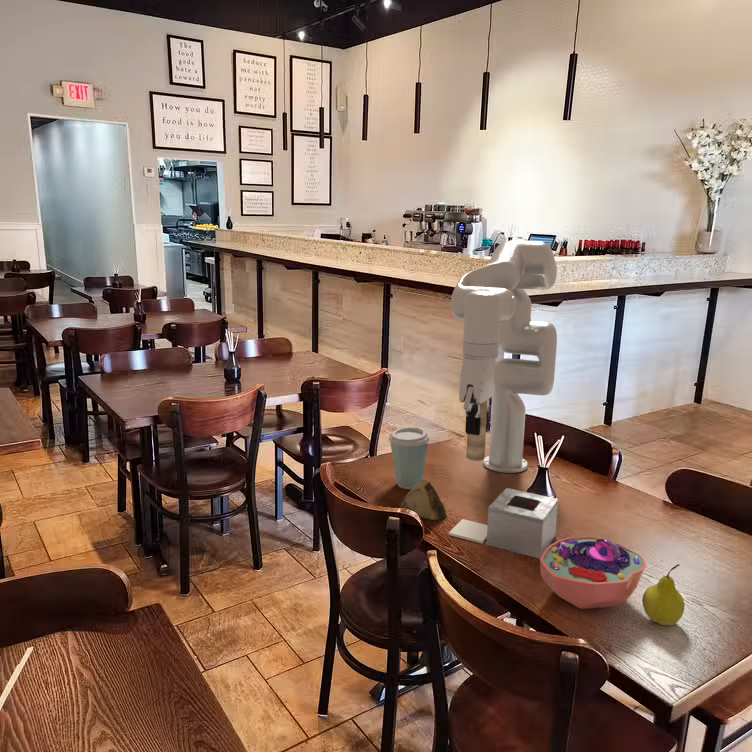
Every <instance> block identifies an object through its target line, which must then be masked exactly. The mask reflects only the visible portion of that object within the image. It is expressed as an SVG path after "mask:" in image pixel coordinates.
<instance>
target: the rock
mask: <svg viewBox="0 0 752 752" xmlns="http://www.w3.org/2000/svg"><path fill="white" fill-rule="evenodd" d="M401 508H406V509H409V510H412V511H414V512H416V513H417V514H419V516H418V517H421V518H424V519H428V520H431V521H437V520H442V519H446V518H448V514H447V511H446V509H445V506H444V503H443V502H442V501H441V499H440V496H439V495H438V493H437V491H436V489H435V488H434V486H433V485H432V484H431V482H430V481H428V480H426V479H422V480H421V481H418V482H417V484H416V485H415V486H414V487H413V488H412V489H410V490H409V491H408V492H407V494H406V495H405V496H404V497H403V501H402V502H401V504H400V509H401Z"/></svg>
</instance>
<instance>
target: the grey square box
mask: <svg viewBox="0 0 752 752" xmlns="http://www.w3.org/2000/svg"><path fill="white" fill-rule="evenodd" d="M558 504H559V499H558V498H556V497H550V496H546V495H541V494H536V493H532V492H527V491H522V490H517V489H513V488H509V487H506V488H505V489H504V490H503V491H502V492H501V493H500V494H499V495H498V496H497V498H496V499H494V500H493V502H492V503H491V504H490V505H489V506H488V509H487V510H488V511H487V512H488V513H487V525H488V527H487V539H486V546H489V547H494V548H497V549H501V550H505V551H509V552H513V553H516V554H520V555H524V556H528V557H532V558H534V559H535V558H536V559H539V560H540V558H541V556H542V555H543V553H544V551H545V550H546V548H547V547H548V546H550V545H551V544H552V541H554V540H553V539H555V536H556V531H557V521H558V520H557V519H558V518H557V517H558V509H559V508H558V506H559V505H558Z"/></svg>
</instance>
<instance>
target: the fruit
mask: <svg viewBox="0 0 752 752" xmlns="http://www.w3.org/2000/svg"><path fill="white" fill-rule="evenodd" d="M678 567H680V564H679V563H678V564H676V565H674V566H673V567H671V568H670V570H669V571H668V573H667V575H663V576H661V577H660V578H659V580H658V582H657V583H656V584H653V585H650V586H648V587H647V588H646V590H645V591H644V593H643V596H642V598H641V600H642V602H641V603H642V607H643V610H644V612H645V614H646V615H647V617H648V618H649V619H650V620H651V621H652V622H655V623H657V624H659V625H661V626H672V625H676V624H677V623H678V622H679V621H680V619H682V617H683V614H684V611H685V601H684V598H683V595H682V594H681V593H680V592H679V591H678V590H677V589H676V586H675V580H674V578H672V576H670V573H671V572H672V571H673V570H675V569H676V568H678Z"/></svg>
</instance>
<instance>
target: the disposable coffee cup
mask: <svg viewBox="0 0 752 752" xmlns="http://www.w3.org/2000/svg"><path fill="white" fill-rule="evenodd" d="M388 440H389V442H390V448H391V454H392V455H391V456H392V463H393V468H394V469H393V470H394V473H395V481H396V484H397V487H399V488H401V489H404V490H412V488H413V487H414V486H415V485H416V484H417V482H418V481H421V480H424V479H423V478H424V471H425V465H426V458H427V451H428V447H429V441H430V436H429V435H428V433H427V430H426V429H424V428H422V427H417V426H405V427H404V426H403V427H400V428H397V429H395V430H394V431H393V432H392V433H390V434H389V438H388Z"/></svg>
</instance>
